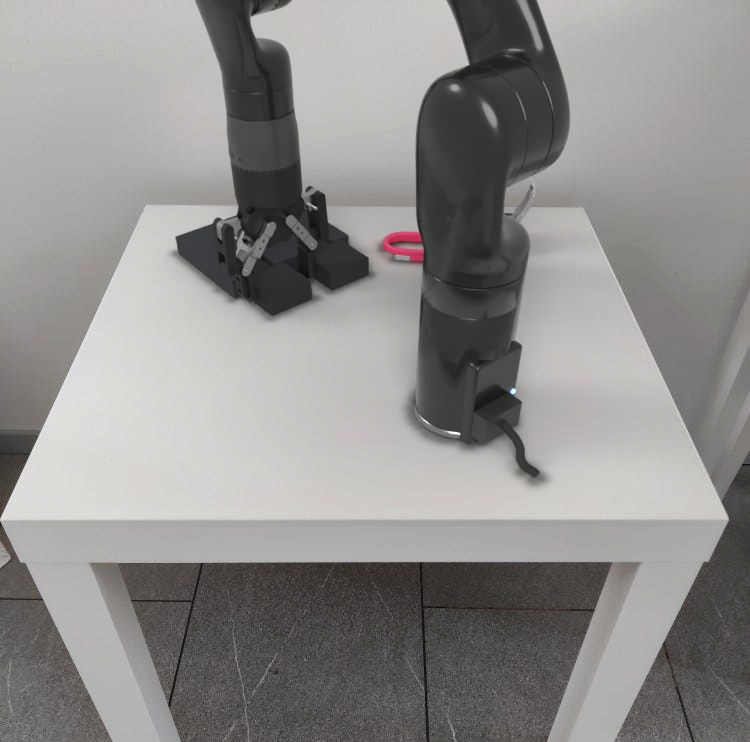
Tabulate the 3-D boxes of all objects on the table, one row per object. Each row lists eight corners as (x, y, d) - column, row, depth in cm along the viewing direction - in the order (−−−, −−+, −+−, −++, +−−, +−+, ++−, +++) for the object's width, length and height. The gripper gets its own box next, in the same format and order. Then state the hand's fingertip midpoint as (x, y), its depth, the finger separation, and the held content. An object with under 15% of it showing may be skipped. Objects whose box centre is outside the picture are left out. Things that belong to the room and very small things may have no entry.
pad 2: (312, 299, 95) (311, 281, 93) (272, 316, 92) (270, 298, 90) (274, 271, 99) (272, 253, 97) (234, 287, 97) (232, 269, 95)
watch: (466, 233, 106) (474, 153, 98) (525, 235, 106) (537, 154, 98) (468, 254, 102) (476, 172, 94) (528, 256, 102) (541, 174, 94)
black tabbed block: (368, 275, 99) (368, 257, 97) (331, 291, 96) (331, 273, 94) (329, 249, 103) (329, 231, 101) (293, 263, 100) (291, 246, 99)
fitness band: (379, 259, 101) (380, 248, 100) (386, 237, 105) (386, 227, 104) (440, 264, 100) (441, 253, 99) (444, 242, 104) (445, 231, 103)
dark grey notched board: (349, 252, 102) (348, 235, 101) (234, 298, 95) (231, 281, 93) (289, 213, 110) (288, 196, 108) (178, 253, 102) (175, 236, 100)
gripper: (226, 183, 77) (245, 321, 89) (338, 147, 83) (343, 280, 95) (188, 159, 81) (212, 294, 93) (298, 125, 87) (307, 256, 99)
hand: (278, 286), depth 94 cm, fingers open, 8 cm apart
